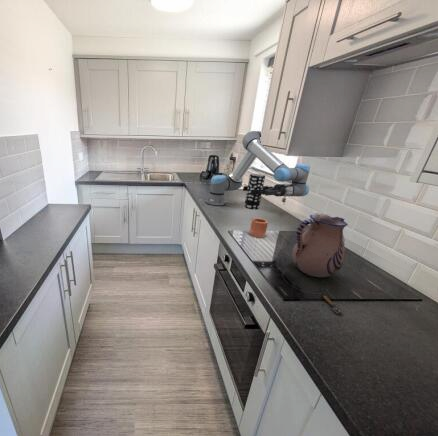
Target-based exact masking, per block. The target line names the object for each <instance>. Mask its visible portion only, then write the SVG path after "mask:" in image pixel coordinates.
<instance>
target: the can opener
mask: <svg viewBox="0 0 438 436" xmlns="http://www.w3.org/2000/svg"><path fill="white" fill-rule="evenodd" d="M322 298H323V300H325V302H327V303H328V304H329V305H330V306H331V307H332V311H333V313H336V314H338V315H340V314H342V311H341V309H340V308H339V307H338V306H336V305H335V304H334V303H333V302H332V301H331V300H330V298H329V297H328V296H327V295H325V294H322Z"/></svg>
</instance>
